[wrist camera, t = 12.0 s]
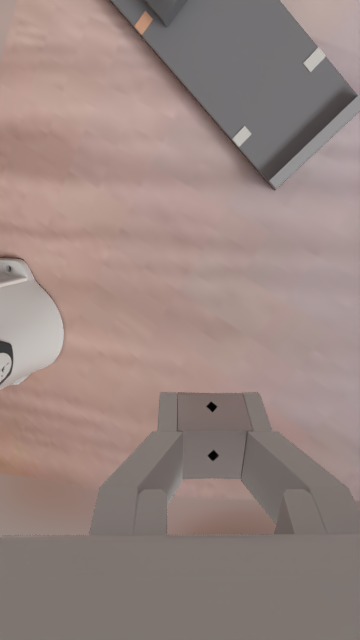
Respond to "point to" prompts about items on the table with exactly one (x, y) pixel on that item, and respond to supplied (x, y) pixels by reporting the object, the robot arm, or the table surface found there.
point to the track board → (252, 77)
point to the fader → (165, 9)
